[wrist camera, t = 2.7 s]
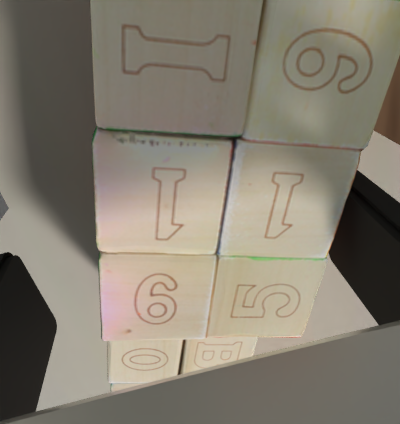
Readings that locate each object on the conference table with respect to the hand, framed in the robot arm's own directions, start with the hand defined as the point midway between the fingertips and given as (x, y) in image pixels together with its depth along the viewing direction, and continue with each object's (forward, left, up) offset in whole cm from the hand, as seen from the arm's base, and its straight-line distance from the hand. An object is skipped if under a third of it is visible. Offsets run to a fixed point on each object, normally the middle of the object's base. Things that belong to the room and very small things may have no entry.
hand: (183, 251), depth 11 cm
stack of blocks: (-1, +1, -11) cm, 11 cm away
